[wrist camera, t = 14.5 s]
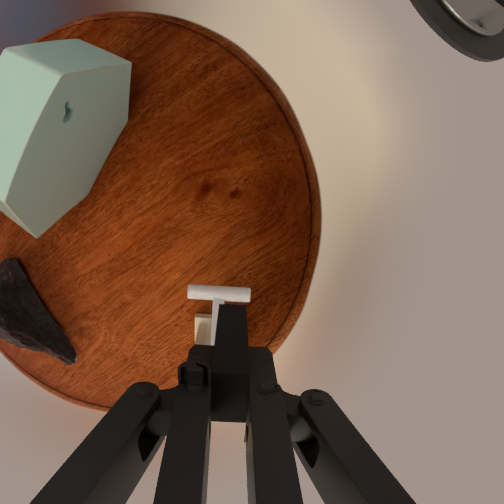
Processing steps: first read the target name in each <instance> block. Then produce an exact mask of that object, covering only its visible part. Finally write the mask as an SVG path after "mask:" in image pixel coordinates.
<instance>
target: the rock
mask: <svg viewBox="0 0 504 504" xmlns="http://www.w3.org/2000/svg"><path fill="white" fill-rule="evenodd" d="M0 338H2V339H5V340H6V341H8V342H9V343H11V344H14V345H16V346H17V347H20V348H26V349H30V350H33V351H39V352H43V353H47V354H50V355H51V356H54V357H56V358H58V359H59V360H61V361H62V362H63V363H64V364H65V365H71V364H73V363H75V362H76V361H77V358H76V352H75V349H74V347H73V346H72V345H71V343H70V340H69V338H68V337H67V336H66V335H65V333H64V332H63V330H62V329H61V328H60V327H59V326H58V324H57V323H56V322H55V321H54V320H53V318H52V317H51V316H50V314H49V313H48V311H47V310H46V308H44V306H43V305H42V303H41V301H40V299H39V298H38V296H37V294H36V293H35V291H34V289H33V287H32V286H31V284H30V283H29V282H28V280H27V276H26V274H25V273H24V272H23V270H22V269H21V268H20V266H19V264H18V261H17V259H16V258H15V259H13V260H8V259H4V260H3V261H2V262H1V264H0Z"/></svg>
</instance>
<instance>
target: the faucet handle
mask: <svg viewBox="0 0 504 504" xmlns="http://www.w3.org/2000/svg"><path fill="white" fill-rule="evenodd" d="M187 296H188V299H201V300H213V307H212V326H211V345H214V343H215V334H216V326H217V317H218V309H219V304H224V301H232V302H250V298H251V288H248V287H231V286H215V285H200V284H189V285H188V292H187Z"/></svg>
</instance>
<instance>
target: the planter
mask: <svg viewBox="0 0 504 504" xmlns="http://www.w3.org/2000/svg"><path fill="white" fill-rule="evenodd" d="M131 69H132V63H131V62H130V61H127V60H125V59H123V58H121V57H119V56H117V55H115V54H112V53H110V52H108V51H106V50H103V49H101V48H99V47H96V46H94V45H92V44H89V43H87V42H85V41H82V40H80V39H65V40H55V41H46V42H38V43H31V44H25V45H18V46H12V47H7V48H5V49H4V50H3V52H2V54H1V56H0V211H2V212H3V213H4V214H5V215H7V216H8V217H9V218H10V219H12V220H13V221H14V222H15V223H17V224H18V225H19V226H21V227H22V228H23V229H25V230H26V231H27V232H29V233H30V234H31V235H33V236H34V237H35V238H39V237H40V236H41V235H42V234H43V233H44V232H45V231H46V230H48V229H49V228H50V227H51V226H52V225H53V224H54V223H55V222H57V221H58V220H59V219H60V218H61V217H62V216H64V215H65V214H66V213H67V212H68V211H69V210H71V209H72V208H73V207H74V206H75V205H77V204H78V203H79V202H80V201H82V200H83V199H84V198H85V197H86V196H87V195H88V194H89V193H90V191H91V189H92V187H93V185H94V183H95V181H96V179H97V177H98V175H99V173H100V171H101V169H102V167H103V165H104V163H105V161H106V159H107V157H108V155H109V153H110V152H111V150H112V148H113V146H114V144H115V143H116V141H117V139H118V137H119V135H120V134H121V132H122V130H123V129H124V127H125V125H126V124H127V122H128V110H129V94H130V80H131Z"/></svg>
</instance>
